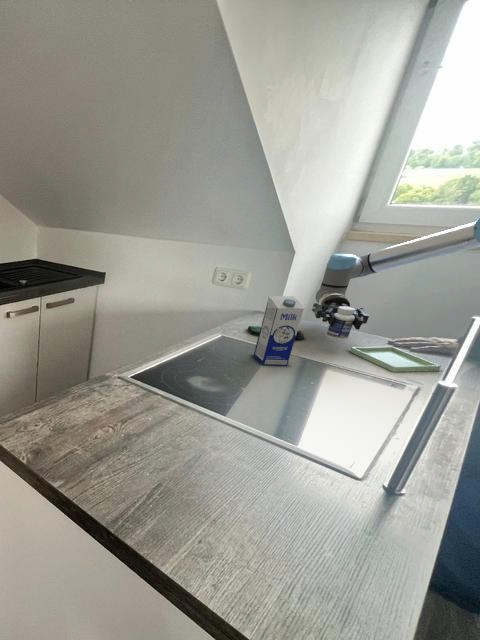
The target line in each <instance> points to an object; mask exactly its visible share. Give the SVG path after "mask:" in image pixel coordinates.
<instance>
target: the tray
mask: <svg viewBox="0 0 480 640" xmlns="http://www.w3.org/2000/svg"><path fill="white" fill-rule="evenodd" d="M349 353H352V354H353V355H356V356H358V357H360V358H363V359H364V360H367V361H368V362H371V363H373V364H375V365H377V366H379V367H381V368H384V369H386V370H387V371H390V372H392V373H399V372H401V373H402V372H435V371H436V372H439V371H440V370H441V367H442V366H441V365H440V364H437V363H435V362H433V361H430V360H427V359H425V358H422V357H420V356H418V355H415V354H412V353H410V352H407V351H404V350H403V349H399V348H397V347H395V346H392V345H390V346H389V345H387V346H356V347H355V346H353V347H352V346H351V347H350V349H349Z"/></svg>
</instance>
